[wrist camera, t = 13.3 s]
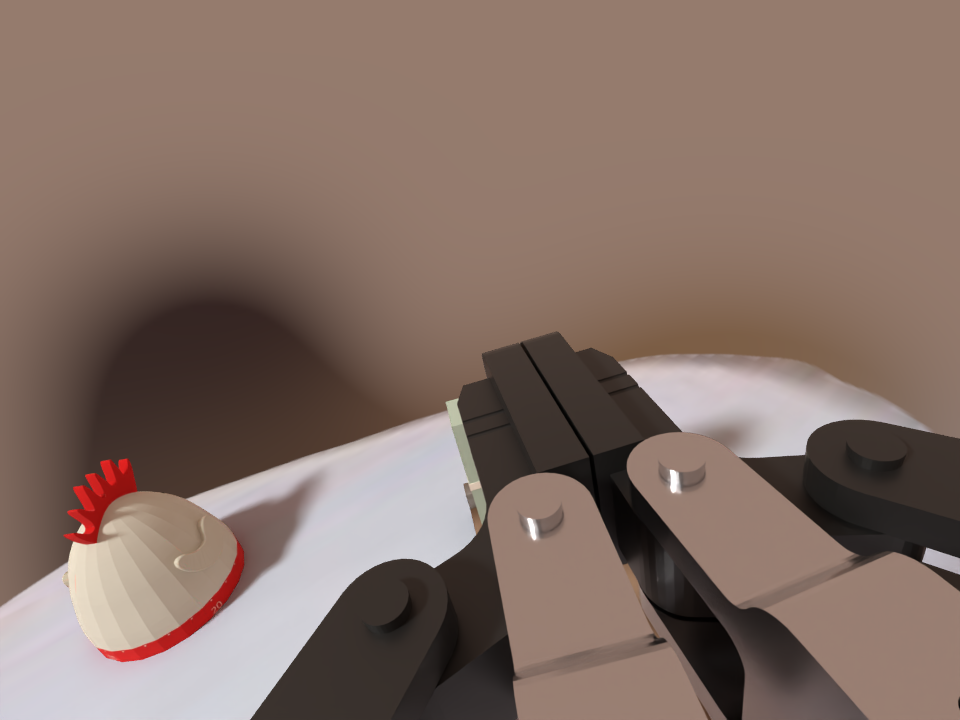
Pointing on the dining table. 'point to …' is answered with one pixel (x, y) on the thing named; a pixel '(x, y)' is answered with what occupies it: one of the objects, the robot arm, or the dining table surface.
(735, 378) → the dining table surface
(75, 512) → the kitchen timer
